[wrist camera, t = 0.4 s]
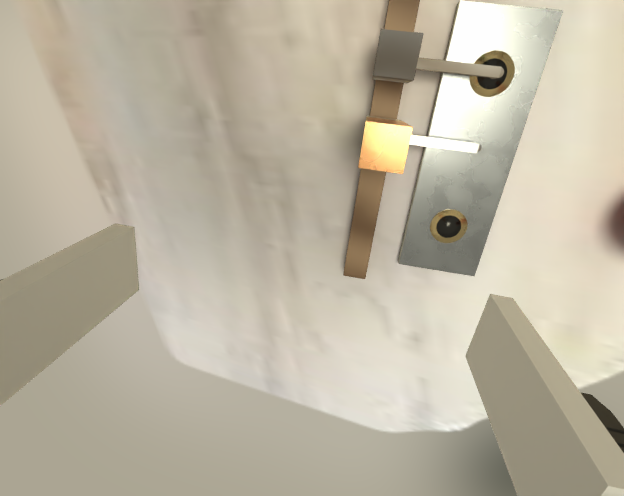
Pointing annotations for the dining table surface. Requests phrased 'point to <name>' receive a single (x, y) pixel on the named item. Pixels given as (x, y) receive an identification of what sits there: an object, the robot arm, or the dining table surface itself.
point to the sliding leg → (399, 144)
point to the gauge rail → (393, 114)
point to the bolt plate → (475, 132)
